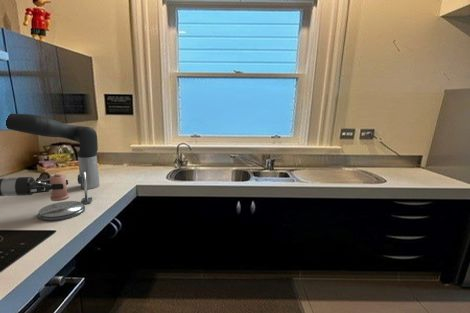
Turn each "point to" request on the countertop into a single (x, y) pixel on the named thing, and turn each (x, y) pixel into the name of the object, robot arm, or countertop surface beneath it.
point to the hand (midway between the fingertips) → (65, 184)
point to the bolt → (43, 176)
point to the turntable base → (61, 217)
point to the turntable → (61, 209)
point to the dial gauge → (83, 180)
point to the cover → (60, 193)
